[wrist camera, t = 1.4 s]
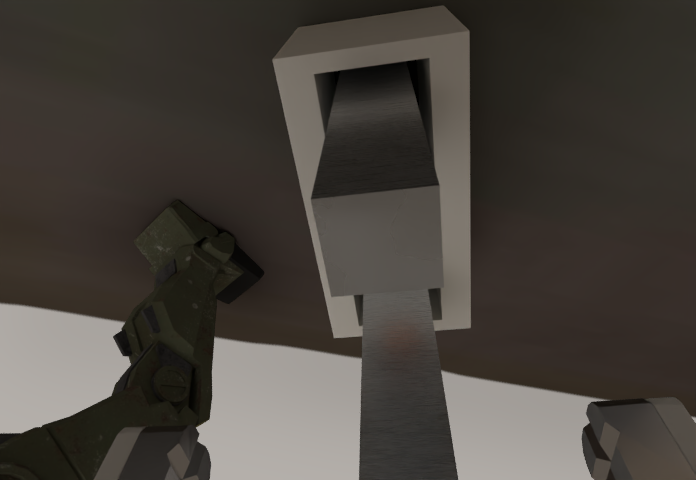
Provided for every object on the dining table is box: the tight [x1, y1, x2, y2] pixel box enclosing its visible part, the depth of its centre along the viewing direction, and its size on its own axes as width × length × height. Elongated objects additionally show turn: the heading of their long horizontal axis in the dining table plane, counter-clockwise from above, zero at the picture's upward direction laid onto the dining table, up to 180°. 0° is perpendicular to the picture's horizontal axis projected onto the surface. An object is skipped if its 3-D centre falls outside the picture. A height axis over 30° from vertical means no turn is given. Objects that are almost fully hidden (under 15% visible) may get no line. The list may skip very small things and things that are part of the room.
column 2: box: [359, 289, 458, 480], centre depth 25 cm, size 4×4×22 cm
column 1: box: [311, 61, 444, 297], centre depth 25 cm, size 4×4×22 cm
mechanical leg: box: [0, 200, 264, 480], centre depth 31 cm, size 14×7×30 cm, turn 43°
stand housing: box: [272, 5, 471, 338], centre depth 33 cm, size 20×10×11 cm, turn 8°
